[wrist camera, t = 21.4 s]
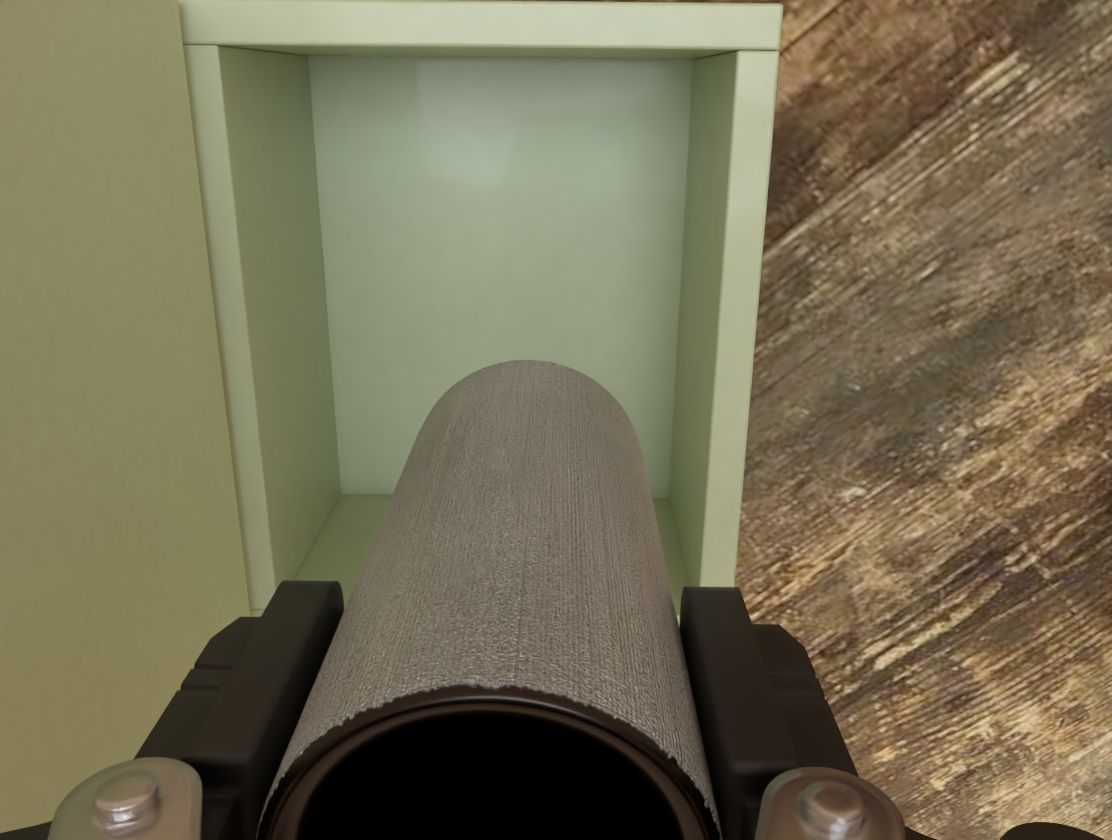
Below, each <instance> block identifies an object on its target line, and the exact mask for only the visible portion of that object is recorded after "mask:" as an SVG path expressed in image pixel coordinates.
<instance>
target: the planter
mask: <svg viewBox="0 0 1112 840" xmlns="http://www.w3.org/2000/svg"><path fill="white" fill-rule="evenodd" d="M256 840H723V838H722V832H721V827H720V822H719V817H718V812H717V807H716V803H715V798H714V793H713V788H712V783H711V778H710V774H709V769H708V764H707V759H706V755H705V750H704V745H703V740H702V735H701V731H700V726H699V721H698V716H697V712H696V707H695V702H694V697H693V692H692V688H691V683H690V678H689V673H688V669H687V664H686V659H685V654H684V649H683V645H682V640H681V635H680V630H679V626H678V621H677V616H676V611H675V606H674V602H673V597H672V592H671V587H670V583H669V578H668V573H667V568H666V563H665V559H664V554H663V549H662V544H661V540H660V535H659V530H658V525H657V520H656V516H655V511H654V506H653V501H652V497H651V492H650V487H649V482H648V477H647V473H646V468H645V463H644V458H643V454H642V450H641V447H640V443H639V441H638V438H637V435H636V432H635V430H634V427H633V425H632V423H631V421H630V419H629V417H628V416H627V414H626V412H625V411H624V409H623V408H622V406H621V405H620V404H619V402H618V401H617V400H616V399H615V398H614V397H613V396H612V395H611V394H610V393H609V392H608V391H607V390H606V389H605V388H604V387H602V386H601V385H600V384H599V383H597V382H596V381H595V380H593V379H591V378H590V377H588V376H587V375H585V374H583V373H581V372H579V371H577V370H574V369H572V368H569V367H566V366H563V365H560V364H556V363H552V362H547V361H538V360H514V361H507V362H502V363H498V364H494V365H491V366H487V367H485V368H482V369H479V370H477V371H475V372H473V373H471V374H469V375H468V376H466V377H464V378H463V379H461V380H460V381H458V382H457V383H456V384H454V385H453V386H452V387H451V388H449V389H448V390H447V391H446V392H445V393H444V394H443V395H442V397H441V398H440V399H439V400H438V401H437V403H436V404H435V405H434V407H433V408H432V409H431V411H430V413H429V414H428V416H427V418H426V419H425V421H424V423H423V424H422V426H421V428H420V430H419V432H418V434H417V437H416V439H415V442H414V444H413V446H412V449H411V451H410V454H409V456H408V458H407V461H406V463H405V466H404V468H403V471H402V473H401V475H400V478H399V480H398V483H397V485H396V487H395V490H394V492H393V495H392V497H391V499H390V502H389V504H388V507H387V509H386V511H385V514H384V516H383V519H382V521H381V523H380V526H379V528H378V531H377V533H376V535H375V538H374V540H373V543H372V545H371V548H370V550H369V552H368V555H367V557H366V560H365V562H364V564H363V567H362V569H361V572H360V574H359V576H358V579H357V581H356V584H355V586H354V588H353V591H352V593H351V596H350V598H349V600H348V603H347V605H346V608H345V610H344V613H343V615H342V617H341V620H340V622H339V625H338V627H337V629H336V632H335V634H334V637H333V639H332V641H331V644H330V646H329V649H328V651H327V653H326V656H325V658H324V661H323V663H322V665H321V668H320V670H319V673H318V675H317V677H316V680H315V682H314V685H313V687H312V690H311V692H310V694H309V697H308V699H307V702H306V704H305V706H304V709H303V711H302V714H301V716H300V718H299V721H298V723H297V726H296V728H295V730H294V733H293V735H292V738H291V740H290V742H289V745H288V747H287V750H286V752H285V755H284V757H283V759H282V762H281V764H280V767H279V769H278V772H277V774H276V777H275V779H274V781H273V784H272V786H271V789H270V791H269V794H268V797H267V799H266V802H265V805H264V807H263V810H262V814H261V817H260V821H259V824H258V830H257V835H256Z"/></svg>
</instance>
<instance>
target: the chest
mask: <svg viewBox="0 0 1112 840" xmlns="http://www.w3.org/2000/svg"><path fill="white" fill-rule="evenodd" d="M178 9H179V17H180V26H181V34H182V42H183V51H184V59H185V68H186V76H187V85H188V93H189V102H190V110H191V118H192V127H193V135H194V144H195V152H196V161H197V169H198V178H199V186H200V194H201V203H202V211H203V220H204V228H205V237H206V245H207V254H208V262H209V271H210V279H211V287H212V296H213V304H214V313H215V321H216V330H217V338H218V347H219V355H220V363H221V372H222V380H223V389H224V397H225V406H226V414H227V423H228V431H229V439H230V448H231V456H232V465H233V473H234V482H235V490H236V499H237V507H238V515H239V524H240V532H241V541H242V549H243V558H244V566H245V575H246V583H247V591H248V600H249V608H250V617H261V616H262V614H263V612H264V610H265V609H266V607H267V605H268V603H269V602H270V600H271V598H272V596H273V595H274V593H275V591H276V589H277V588H278V586H279V584H280V583H281V582H282V581H284V580H304V581H338V582H339V583H340V585H341V587H342V592H343V599H344V610H345V608H346V605H347V603H348V600H349V598H350V596H351V593H352V591H353V588H354V586H355V584H356V581H357V579H358V576H359V574H360V572H361V569H362V567H363V564H364V562H365V560H366V557H367V555H368V552H369V550H370V548H371V545H372V543H373V540H374V538H375V535H376V533H377V531H378V528H379V526H380V523H381V521H382V519H383V516H384V514H385V511H386V509H387V507H388V504H389V502H390V499H391V497H392V495H393V492H394V490H395V487H396V485H397V483H398V480H399V478H400V475H401V473H402V471H403V468H404V466H405V463H406V461H407V458H408V456H409V454H410V451H411V449H412V446H413V444H414V442H415V439H416V437H417V434H418V432H419V430H420V428H421V426H422V424H423V423H424V421H425V419H426V418H427V416H428V414H429V413H430V411H431V409H432V408H433V407H434V405H435V404H436V403H437V401H438V400H439V399H440V398H441V397H442V395H443V394H444V393H445V392H446V391H447V390H448V389H449V388H451V387H452V386H453V385H454V384H456V383H457V382H458V381H460V380H461V379H463V378H464V377H466V376H468V375H469V374H471V373H473V372H475V371H477V370H479V369H482V368H485V367H487V366H491V365H494V364H498V363H502V362H507V361H514V360H538V361H547V362H552V363H556V364H560V365H563V366H566V367H569V368H572V369H574V370H577V371H579V372H581V373H583V374H585V375H587V376H588V377H590V378H591V379H593V380H595V381H596V382H597V383H599V384H600V385H601V386H602V387H604V388H605V389H606V390H607V391H608V392H609V393H610V394H611V395H612V396H613V397H614V398H615V399H616V400H617V401H618V402H619V404H620V405H621V406H622V408H623V409H624V411H625V412H626V414H627V416H628V417H629V419H630V421H631V423H632V425H633V427H634V430H635V432H636V435H637V438H638V441H639V443H640V447H641V450H642V454H643V458H644V463H645V468H646V473H647V477H648V482H649V487H650V492H651V497H652V501H653V506H654V511H655V516H656V520H657V525H658V530H659V535H660V540H661V544H662V549H663V554H664V559H665V563H666V568H667V573H668V578H669V583H670V587H671V592H672V597H673V602H674V606H675V611H676V616H677V621H678V626H679V623H680V607H681V596H682V590H683V587H684V586H696V587H734V585H735V573H736V561H737V550H738V538H739V526H740V514H741V503H742V491H743V479H744V467H745V456H746V444H747V432H748V420H749V409H750V397H751V385H752V373H753V362H754V350H755V338H756V326H757V314H758V303H759V291H760V279H761V267H762V256H763V244H764V232H765V220H766V209H767V197H768V185H769V173H770V162H771V150H772V138H773V126H774V114H775V103H776V91H777V79H778V67H779V56H780V54H779V52H778V51H776V50H778V49H779V48H780V43H781V31H782V19H783V5H782V4H780V3H692V2H584V1H476V0H178Z"/></svg>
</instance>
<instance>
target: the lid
mask: <svg viewBox="0 0 1112 840" xmlns="http://www.w3.org/2000/svg"><path fill="white" fill-rule="evenodd" d="M240 616H241V617H250V608H249V600H248V591H247V583H246V575H245V566H244V558H243V549H242V541H241V532H240V524H239V515H238V507H237V499H236V490H235V482H234V473H233V465H232V456H231V448H230V439H229V431H228V423H227V414H226V406H225V397H224V389H223V380H222V372H221V363H220V355H219V347H218V338H217V330H216V321H215V313H214V304H213V296H212V287H211V279H210V271H209V262H208V254H207V245H206V237H205V228H204V220H203V211H202V203H201V194H200V186H199V178H198V169H197V161H196V152H195V144H194V135H193V127H192V118H191V110H190V102H189V93H188V85H187V76H186V68H185V59H184V51H183V42H182V34H181V26H180V17H179V9H178V0H0V833H3V832H8V831H12V830H17V829H21V828H26V827H31V826H35V825H39V824H42V823H46V822H49V821H52V820H53V817H54V814H55V812H56V810H57V808H58V806H59V805H60V803H61V802H62V800H63V799H64V798H65V797H66V796H67V795H68V793H69V792H70V791H72V790H73V789H74V788H75V787H76V786H77V785H78V784H80V783H81V782H83V781H84V780H86V779H87V778H88V777H90V776H92V775H94V774H95V773H97V772H99V771H101V770H103V769H106V768H108V767H110V766H113V765H116V764H119V763H121V762H125V761H129V760H133V759H134V757H135V756H136V754H137V753H138V751H139V749H140V748H141V746H142V745H143V743H144V742H145V740H146V738H147V737H148V735H149V734H150V732H151V731H152V729H153V728H154V726H155V724H156V723H157V721H158V720H159V718H160V717H161V715H162V713H163V712H164V710H165V709H166V707H167V706H168V704H169V703H170V701H171V699H172V698H173V696H174V695H175V693H176V692H177V690H180V689H181V684H182V682H183V681H184V679H185V677H186V676H187V674H188V673H189V671H190V670H191V669H194V663H195V662H196V660H197V659H198V657H199V656H200V654H201V652H202V651H203V649H204V648H205V646H206V645H207V643H208V642H209V640H210V638H212V637H213V636H214V635H216V634H217V633H218V632H220V631H221V630H223V629H224V628H225V627H227V626H228V625H229V624H231V623H232V622H233V621H235V620H236V619H238V618H239V617H240Z"/></svg>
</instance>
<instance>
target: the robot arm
mask: <svg viewBox="0 0 1112 840" xmlns="http://www.w3.org/2000/svg"><path fill="white" fill-rule="evenodd" d="M343 613H344V599H343V592H342V587H341V585H340V583H339V582H338V581H304V580H284V581H282V582H281V583H280V584H279V586H278V588H277V589H276V591H275V593H274V595H273V596H272V598H271V600H270V602H269V603H268V605H267V607H266V609H265V610H264V612H263V614H262V616H261V617H241V616H240V617H239V618H238V619H236V620H235V621H233V622H232V623H231V624H229V625H228V626H227V627H225V628H224V629H223V630H221V631H220V632H218V633H217V634H216V635H214V636H213V637H212V638H210V640H209V642H208V643H207V645H206V646H205V648H204V649H203V651H202V652H201V654H200V656H199V657H198V659H197V660H196V662H195V663H194V669H191V670H190V671H189V673H188V674H187V676H186V677H185V679H184V681H183V682H182V684H181V689H180V690H177V692H176V693H175V695H174V696H173V698H172V699H171V701H170V703H169V704H168V706H167V707H166V709H165V710H164V712H163V713H162V715H161V717H160V718H159V720H158V721H157V723H156V724H155V726H154V728H153V729H152V731H151V732H150V734H149V735H148V737H147V738H146V740H145V742H144V743H143V745H142V746H141V748H140V749H139V751H138V753H137V754H136V756H135V757H134V759H133V760H129V761H125V762H121V763H119V764H116V765H113V766H110V767H108V768H106V769H103V770H101V771H99V772H97V773H95V774H94V775H92V776H90V777H88V778H87V779H86V780H84V781H83V782H81V783H80V784H78V785H77V786H76V787H75V788H74V789H73V790H72V791H70V792H69V793H68V795H67V796H66V797H65V798H64V799H63V800H62V802H61V803H60V805H59V806H58V808H57V810H56V812H55V814H54V817H53V820H52V821H49V822H46V823H42V824H39V825H35V826H31V827H26V828H21V829H17V830H12V831H8V832H3V833H0V840H256V835H257V830H258V824H259V821H260V817H261V814H262V810H263V807H264V805H265V802H266V799H267V797H268V794H269V791H270V789H271V786H272V784H273V781H274V779H275V777H276V774H277V772H278V769H279V767H280V764H281V762H282V759H283V757H284V755H285V752H286V750H287V747H288V745H289V742H290V740H291V738H292V735H293V733H294V730H295V728H296V726H297V723H298V721H299V718H300V716H301V714H302V711H303V709H304V706H305V704H306V702H307V699H308V697H309V694H310V692H311V690H312V687H313V685H314V682H315V680H316V677H317V675H318V673H319V670H320V668H321V665H322V663H323V661H324V658H325V656H326V653H327V651H328V649H329V646H330V644H331V641H332V639H333V637H334V634H335V632H336V629H337V627H338V625H339V622H340V620H341V617H342V615H343ZM679 630H680V635H681V640H682V645H683V649H684V654H685V659H686V664H687V669H688V673H689V678H690V683H691V688H692V692H693V697H694V702H695V707H696V712H697V716H698V721H699V726H700V731H701V735H702V740H703V745H704V750H705V755H706V759H707V764H708V769H709V774H710V778H711V783H712V788H713V793H714V798H715V803H716V807H717V812H718V817H719V822H720V827H721V832H722V838H723V840H937V839H934V838H931V837H928V836H925V835H923V834H921V833H918V832H916V831H914V830H912V829H910V828H908V827H906V826H905V824H904V821H903V818H902V815H901V813H900V812H899V810H898V808H897V807H896V805H895V804H894V803H893V802H892V801H891V799H890V798H889V797H888V796H887V795H886V794H884V793H883V792H882V791H881V790H880V789H878V788H877V787H876V786H874V785H873V784H871V783H870V782H868V781H866V780H864V779H862V778H860V777H859V776H858V773H857V771H856V769H855V766H854V764H853V762H852V759H851V757H850V754H849V752H848V750H847V747H846V745H845V742H844V740H843V738H842V735H841V733H840V731H839V728H838V726H837V723H836V721H835V719H834V716H833V714H832V712H831V709H830V707H829V704H828V702H827V701H825V695H824V692H823V690H822V688H821V685H820V683H819V681H818V679H816V676H815V674H816V673H815V671H814V669H813V666H812V664H811V661H810V659H809V657H808V654H807V652H806V650H805V647H804V646H802V645H801V644H800V643H799V642H798V641H797V640H796V639H795V638H794V637H792V636H791V635H790V634H789V633H788V632H787V631H786V630H785V629H784V628H782V627H781V626H780V625H766V624H752V623H751V620H750V617H749V614H748V612H747V609H746V606H745V603H744V600H743V597H742V594H741V591H740V589H739V588H738V587H696V586H684V587H683V590H682V596H681V607H680V623H679ZM1000 840H1104V839H1102V838H1100V837H1098V836H1096V835H1094V834H1091V833H1089V832H1087V831H1084V830H1081V829H1078V828H1075V827H1071V826H1067V825H1063V824H1057V823H1049V822H1033V823H1026V824H1022V825H1019V826H1016V827H1014V828H1012V829H1010V830H1008V831H1007V832H1006V833H1005V834H1004V835H1003V836H1002V837H1001V839H1000Z"/></svg>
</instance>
